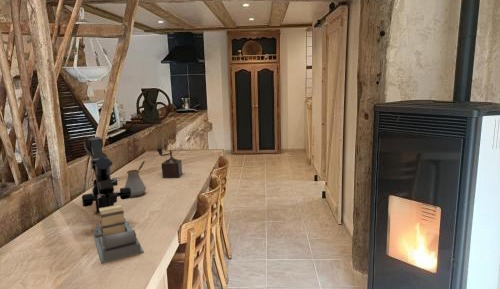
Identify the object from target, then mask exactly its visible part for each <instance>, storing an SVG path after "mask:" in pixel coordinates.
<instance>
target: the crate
mask: <svg viewBox="0 0 500 289" xmlns="http://www.w3.org/2000/svg"><path fill="white" fill-rule="evenodd" d="M124 212H125V211H124V208H123V206H121V204H119V203H118V204H116V205H115V204H114V205H113V206H109V207H103V208H99V213H98V214H99V221H100V223H99V224H100V228H101V229H102V233H104V236H109V235H113V234H118V233H122V232H125V221H124V218H125V215H124Z"/></svg>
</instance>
